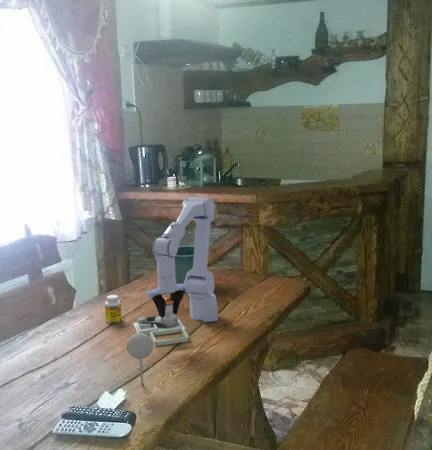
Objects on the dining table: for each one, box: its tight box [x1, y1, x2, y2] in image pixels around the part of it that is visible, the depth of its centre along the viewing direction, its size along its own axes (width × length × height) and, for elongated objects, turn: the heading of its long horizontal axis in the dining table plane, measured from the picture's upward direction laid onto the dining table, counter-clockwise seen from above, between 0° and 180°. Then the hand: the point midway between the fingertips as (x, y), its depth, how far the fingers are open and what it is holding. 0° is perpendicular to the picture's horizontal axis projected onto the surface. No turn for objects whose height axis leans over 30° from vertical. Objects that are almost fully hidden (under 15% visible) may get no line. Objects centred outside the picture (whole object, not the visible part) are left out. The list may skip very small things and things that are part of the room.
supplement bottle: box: [104, 294, 123, 325], centre depth 214 cm, size 6×6×10 cm
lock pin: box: [161, 296, 175, 325], centre depth 196 cm, size 5×5×8 cm
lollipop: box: [126, 332, 154, 386], centre depth 167 cm, size 7×7×15 cm
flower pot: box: [175, 245, 203, 292], centre depth 253 cm, size 16×16×16 cm
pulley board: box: [132, 314, 186, 335], centre depth 209 cm, size 16×12×4 cm
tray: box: [149, 327, 191, 347], centre depth 198 cm, size 11×9×2 cm
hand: (168, 315), depth 196 cm, fingers closed on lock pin, 4 cm apart
